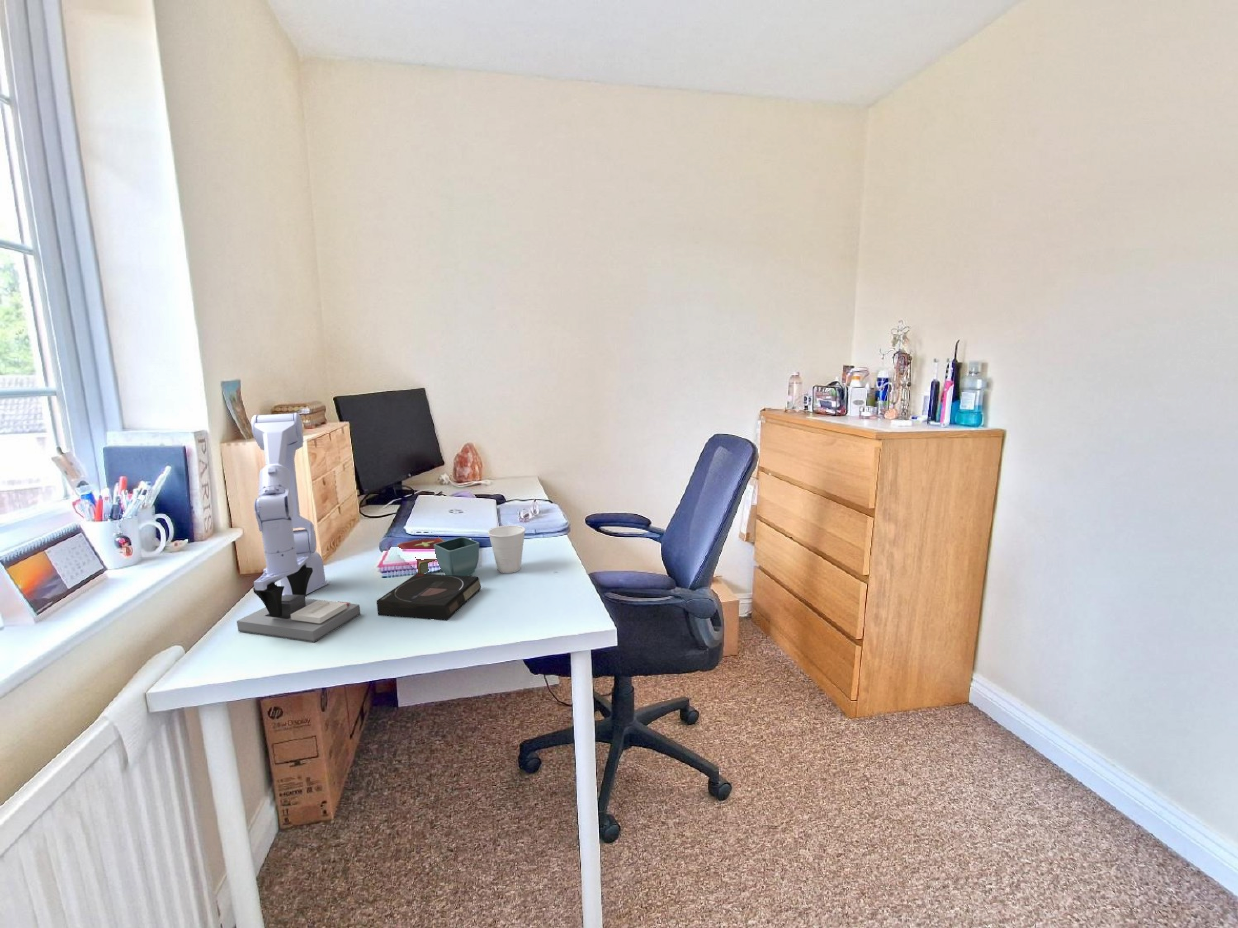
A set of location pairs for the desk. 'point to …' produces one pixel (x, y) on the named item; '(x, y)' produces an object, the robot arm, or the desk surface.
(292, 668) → the desk surface
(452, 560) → the flower pot
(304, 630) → the socket plate
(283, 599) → the plug
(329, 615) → the shutter
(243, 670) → the desk surface
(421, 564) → the hardcover book
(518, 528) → the cup
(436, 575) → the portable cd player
